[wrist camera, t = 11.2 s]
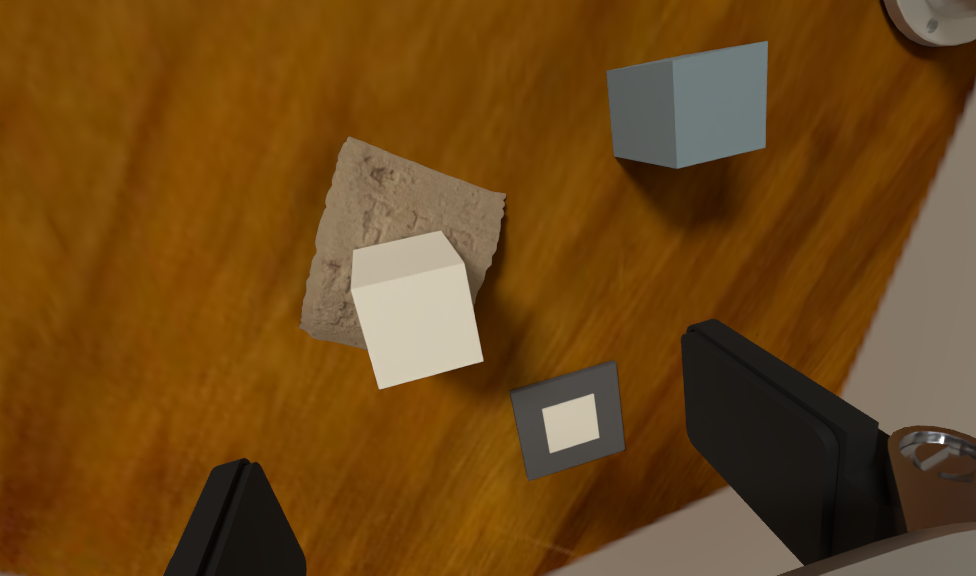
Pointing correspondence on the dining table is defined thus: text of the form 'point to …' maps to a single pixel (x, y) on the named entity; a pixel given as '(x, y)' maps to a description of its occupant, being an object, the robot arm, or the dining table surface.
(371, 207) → the clay tablet
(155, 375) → the dining table surface
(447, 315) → the cream block
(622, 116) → the slate-blue block
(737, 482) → the robot arm
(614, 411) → the card
